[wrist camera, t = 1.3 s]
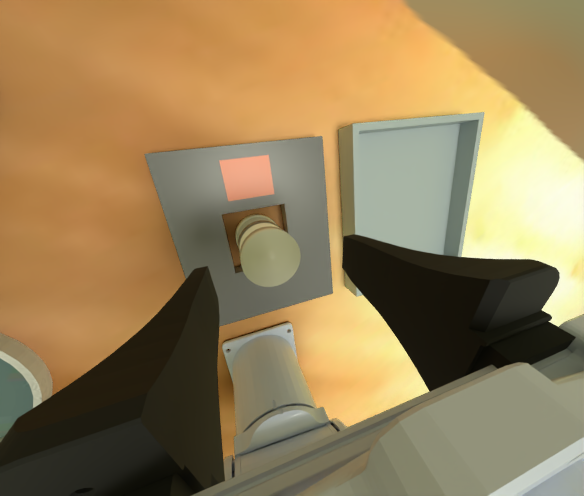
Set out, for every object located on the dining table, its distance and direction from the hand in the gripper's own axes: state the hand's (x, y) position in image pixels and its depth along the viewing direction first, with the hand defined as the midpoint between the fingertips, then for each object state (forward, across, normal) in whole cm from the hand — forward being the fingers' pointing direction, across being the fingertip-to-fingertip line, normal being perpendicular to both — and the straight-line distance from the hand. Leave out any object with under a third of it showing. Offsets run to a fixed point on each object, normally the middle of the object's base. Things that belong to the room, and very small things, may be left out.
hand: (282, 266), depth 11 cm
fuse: (+10, 0, +3) cm, 11 cm away
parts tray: (+11, -17, +3) cm, 20 cm away
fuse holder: (+10, 0, +3) cm, 11 cm away
